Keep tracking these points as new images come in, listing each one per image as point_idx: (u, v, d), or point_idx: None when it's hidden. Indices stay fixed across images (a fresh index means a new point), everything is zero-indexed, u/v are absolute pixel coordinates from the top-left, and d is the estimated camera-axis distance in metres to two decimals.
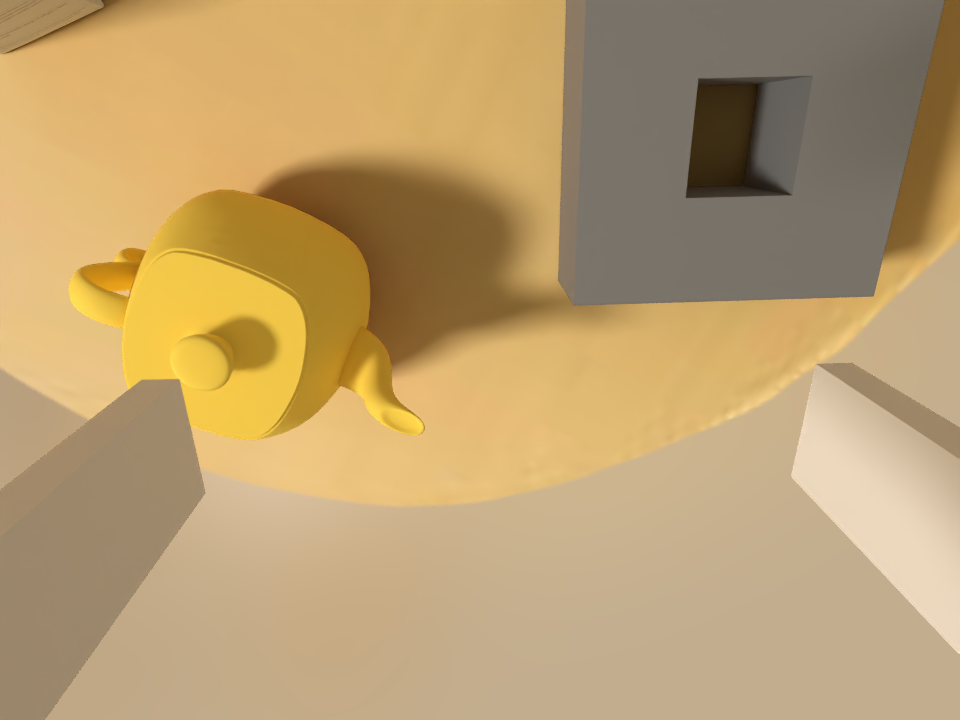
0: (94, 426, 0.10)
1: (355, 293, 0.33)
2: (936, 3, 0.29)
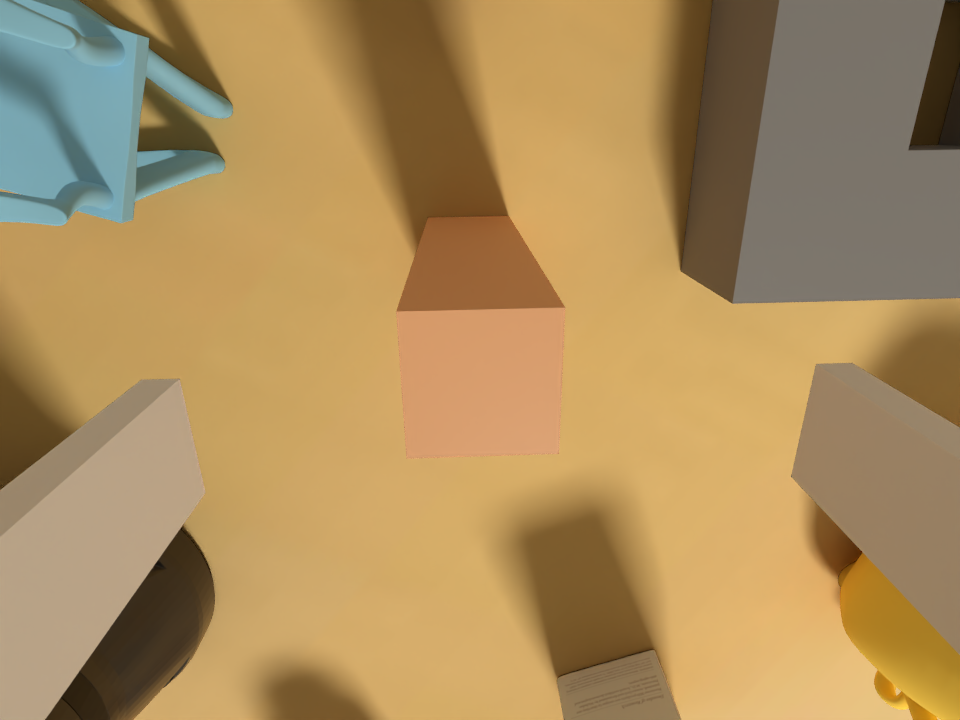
0: (94, 426, 0.10)
1: None
2: None
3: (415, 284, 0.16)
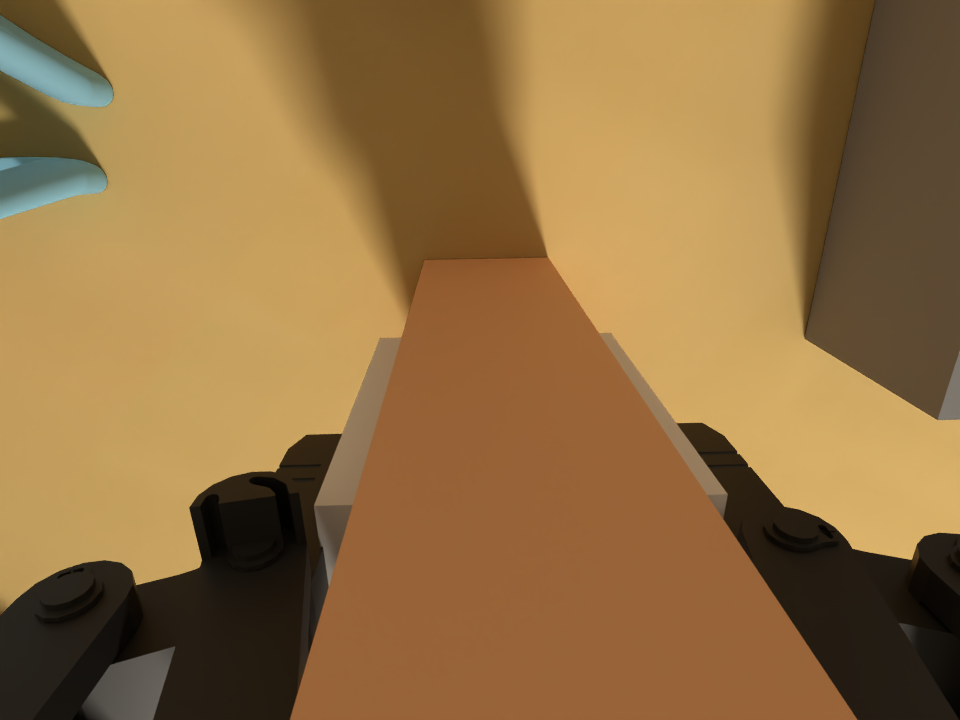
0: (378, 370, 0.12)
1: None
2: None
3: (372, 528, 0.06)
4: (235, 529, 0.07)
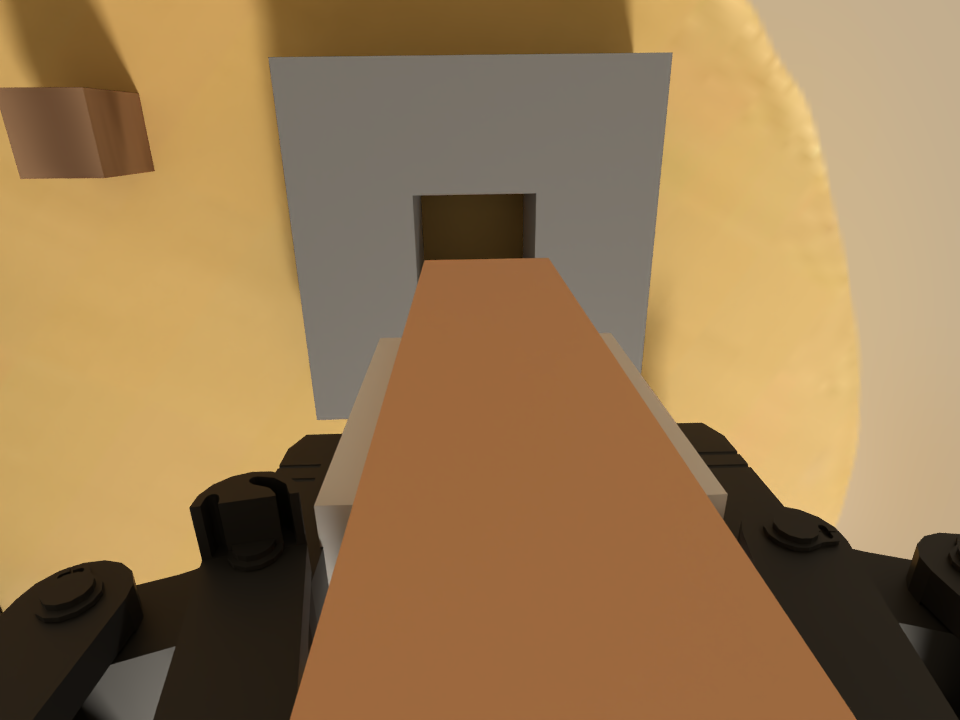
0: (378, 370, 0.12)
1: None
2: (334, 66, 0.26)
3: (371, 531, 0.06)
4: (237, 529, 0.07)
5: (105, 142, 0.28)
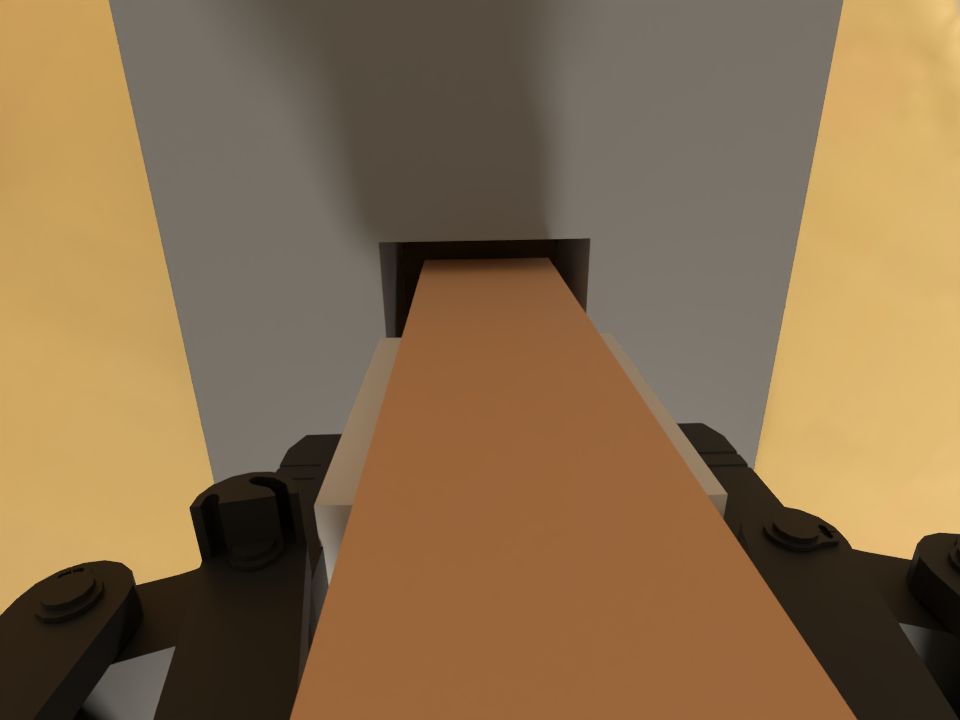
0: (378, 370, 0.12)
1: None
2: (231, 13, 0.14)
3: (372, 531, 0.06)
4: (236, 529, 0.07)
5: None
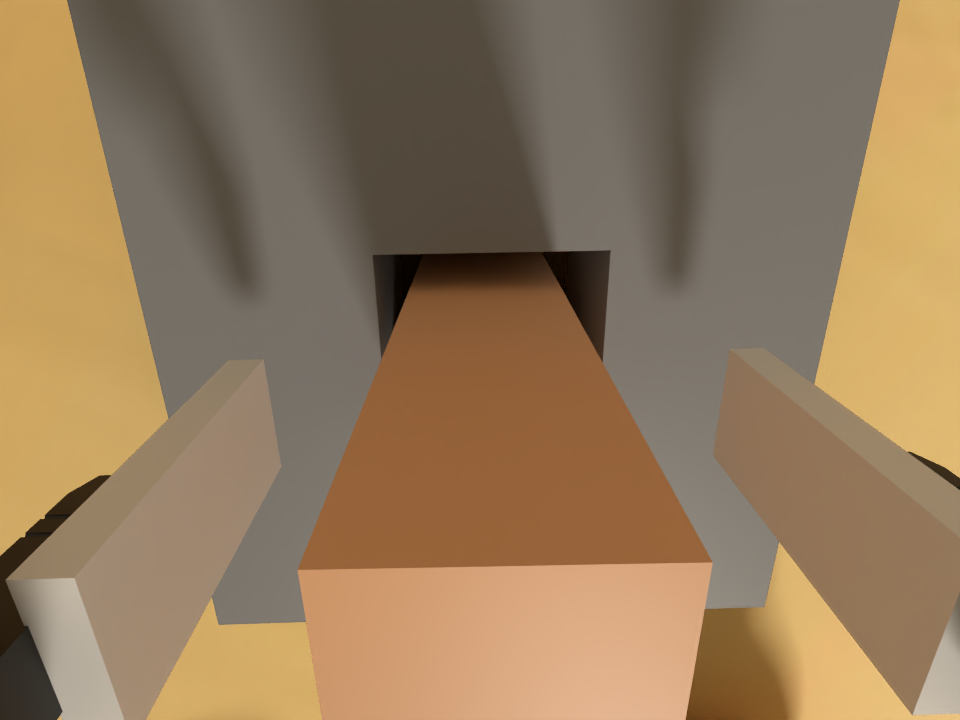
0: (200, 399, 0.11)
1: None
2: None
3: (370, 437, 0.08)
4: None
5: None
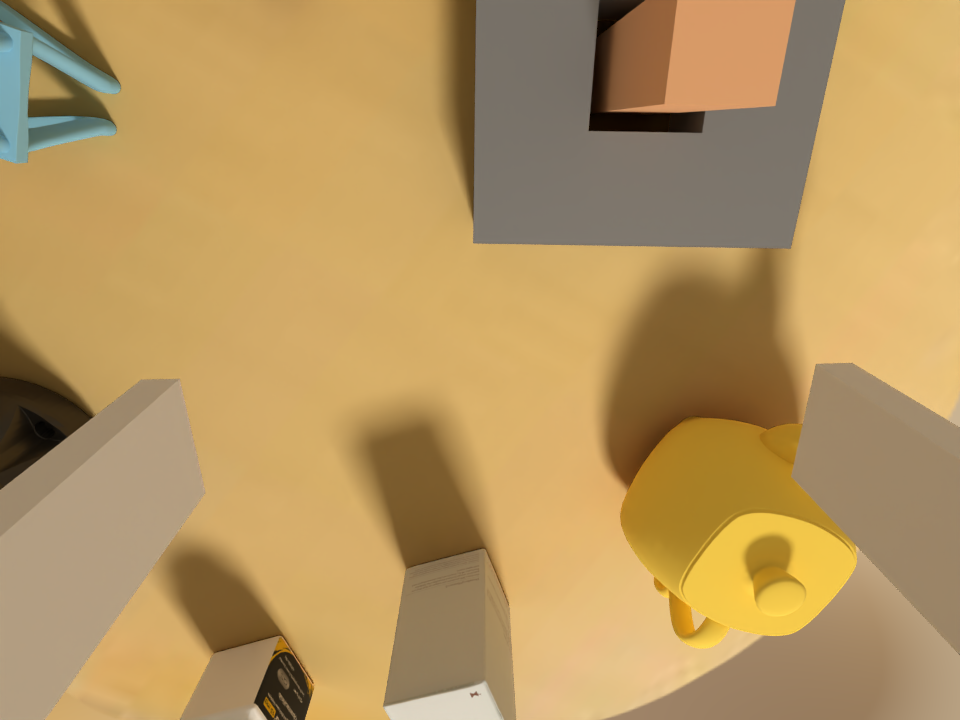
0: (94, 426, 0.10)
1: (731, 446, 0.37)
2: None
3: None
4: None
5: None
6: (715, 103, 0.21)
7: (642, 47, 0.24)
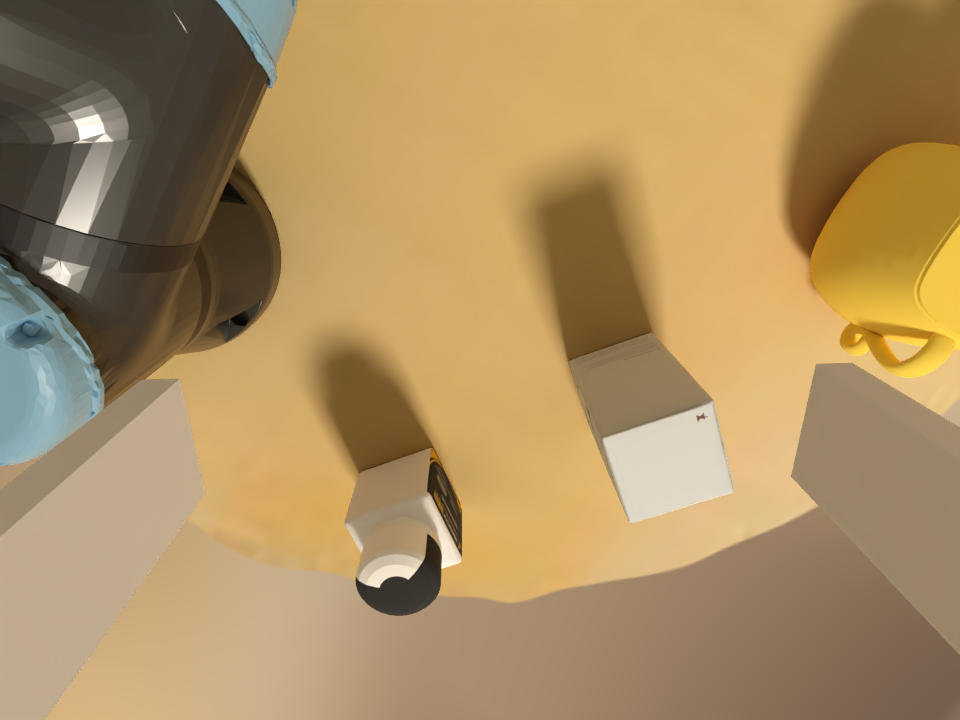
0: (94, 426, 0.10)
1: (955, 149, 0.36)
2: None
3: None
4: None
5: None
6: None
7: None
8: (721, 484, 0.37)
